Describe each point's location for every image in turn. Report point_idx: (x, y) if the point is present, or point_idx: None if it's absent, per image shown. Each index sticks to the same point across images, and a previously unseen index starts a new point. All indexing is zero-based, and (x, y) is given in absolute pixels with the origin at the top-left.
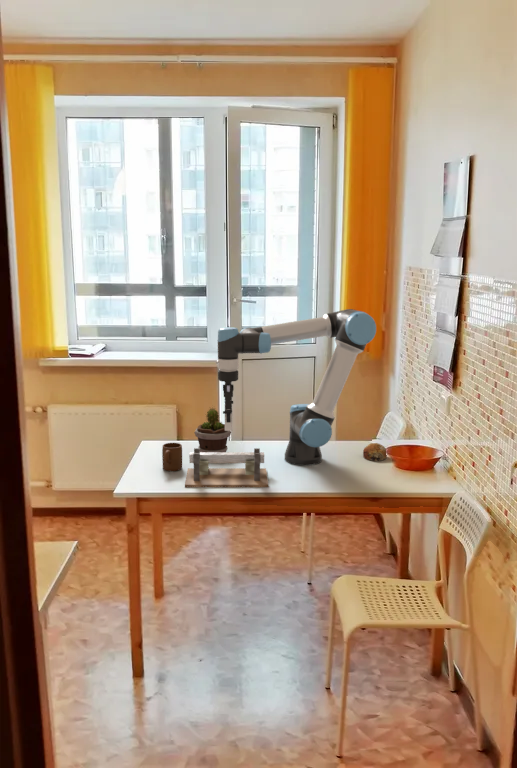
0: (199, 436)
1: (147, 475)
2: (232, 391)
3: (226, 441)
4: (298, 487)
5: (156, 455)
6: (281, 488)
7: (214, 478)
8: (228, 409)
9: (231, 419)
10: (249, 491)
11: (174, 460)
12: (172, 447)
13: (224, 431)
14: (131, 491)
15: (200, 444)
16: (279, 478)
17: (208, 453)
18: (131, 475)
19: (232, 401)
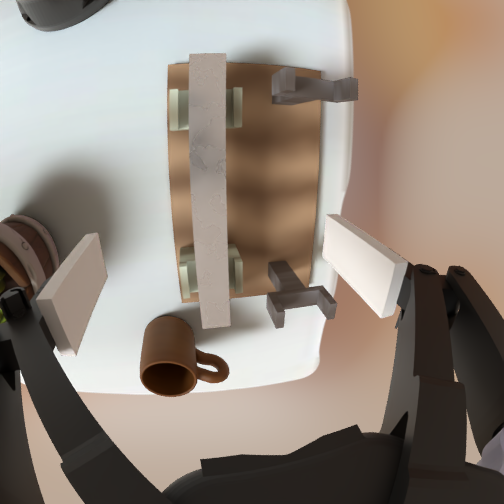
0: None
1: None
2: (462, 441)
3: (9, 225)
4: (315, 5)
5: (87, 371)
6: (324, 43)
7: (267, 222)
8: (76, 299)
9: (377, 245)
10: (344, 126)
11: (193, 346)
12: (144, 372)
13: (3, 246)
14: (313, 365)
15: None
16: (242, 32)
17: (211, 272)
18: (226, 388)
19: (3, 305)
